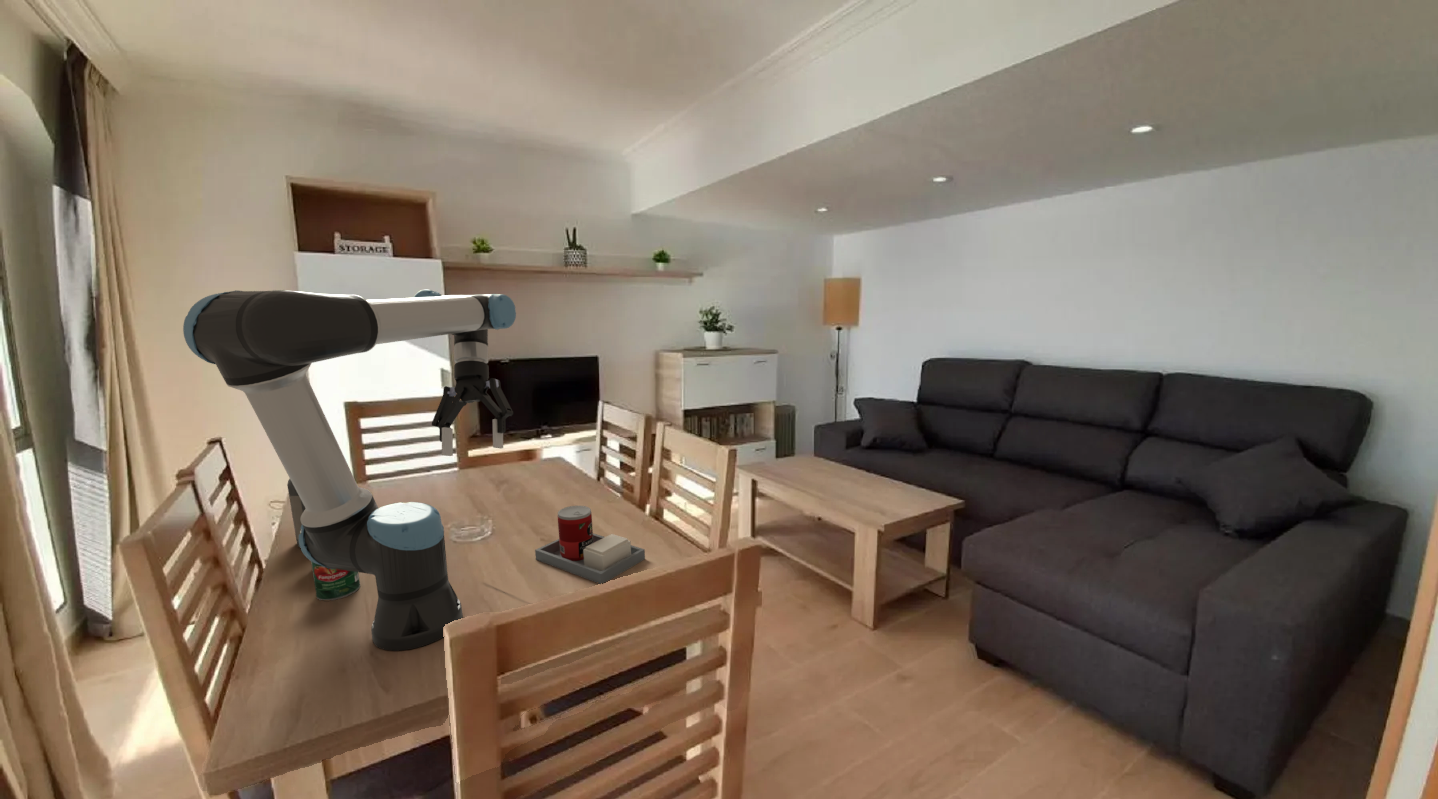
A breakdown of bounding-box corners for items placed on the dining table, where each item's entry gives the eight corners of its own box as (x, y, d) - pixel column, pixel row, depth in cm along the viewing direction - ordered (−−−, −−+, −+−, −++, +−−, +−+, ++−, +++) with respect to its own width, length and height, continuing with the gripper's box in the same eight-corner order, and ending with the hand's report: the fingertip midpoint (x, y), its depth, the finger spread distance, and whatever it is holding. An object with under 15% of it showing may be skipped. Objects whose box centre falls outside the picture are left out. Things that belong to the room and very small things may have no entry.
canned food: (585, 562, 128) (582, 518, 126) (554, 560, 129) (550, 516, 127) (599, 548, 135) (596, 506, 133) (569, 546, 137) (566, 504, 135)
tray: (645, 561, 129) (644, 549, 129) (601, 586, 118) (600, 574, 117) (580, 540, 141) (580, 529, 141) (536, 561, 130) (535, 549, 129)
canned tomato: (324, 605, 113) (316, 555, 111) (310, 593, 117) (302, 545, 115) (366, 588, 119) (360, 541, 117) (352, 578, 124) (345, 532, 122)
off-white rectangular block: (631, 560, 128) (630, 538, 127) (603, 577, 121) (602, 553, 120) (612, 554, 132) (611, 532, 131) (584, 570, 124) (583, 547, 123)
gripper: (526, 359, 132) (529, 446, 127) (438, 375, 137) (438, 459, 133) (507, 350, 125) (510, 442, 120) (415, 368, 130) (414, 457, 126)
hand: (472, 451), depth 126 cm, fingers open, 13 cm apart
